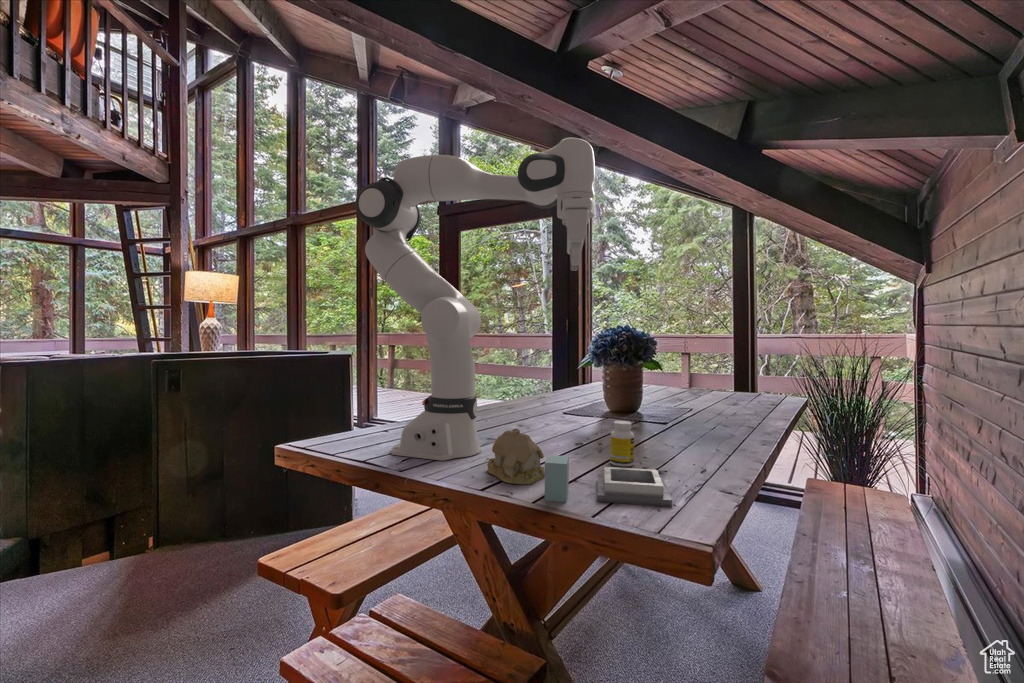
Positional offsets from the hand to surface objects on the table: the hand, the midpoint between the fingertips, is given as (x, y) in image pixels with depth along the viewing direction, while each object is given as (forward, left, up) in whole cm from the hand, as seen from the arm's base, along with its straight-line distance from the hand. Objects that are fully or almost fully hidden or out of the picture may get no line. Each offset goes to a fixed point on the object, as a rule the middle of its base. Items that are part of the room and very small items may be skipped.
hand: (574, 267), depth 115 cm
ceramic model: (-12, -14, -46) cm, 50 cm away
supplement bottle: (+11, -1, -46) cm, 48 cm away
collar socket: (+12, -21, -46) cm, 52 cm away
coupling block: (-2, -26, -46) cm, 53 cm away
